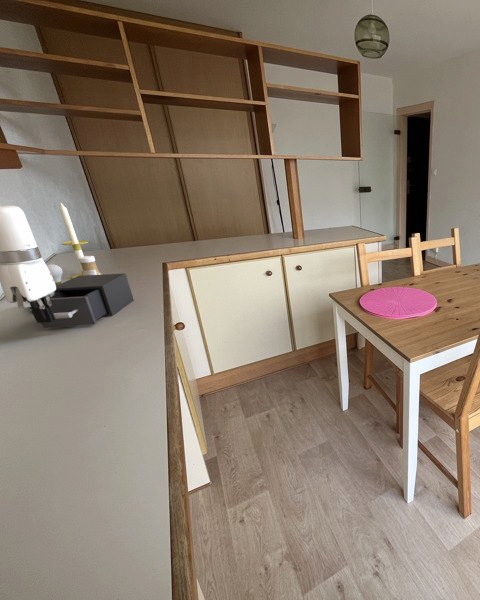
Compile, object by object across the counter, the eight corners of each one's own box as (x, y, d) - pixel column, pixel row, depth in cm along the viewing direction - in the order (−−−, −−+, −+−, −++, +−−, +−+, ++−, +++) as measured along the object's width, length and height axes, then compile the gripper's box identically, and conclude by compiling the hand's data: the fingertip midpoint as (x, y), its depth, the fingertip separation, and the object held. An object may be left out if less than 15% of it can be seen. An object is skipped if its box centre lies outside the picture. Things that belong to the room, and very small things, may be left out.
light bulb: (46, 291, 123) (36, 267, 119) (49, 287, 127) (39, 263, 124) (67, 288, 126) (58, 264, 123) (69, 285, 131) (60, 261, 127)
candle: (104, 275, 144) (80, 202, 133) (75, 280, 137) (46, 203, 125) (97, 271, 149) (73, 200, 138) (68, 276, 142) (40, 201, 130)
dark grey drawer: (86, 330, 92) (75, 302, 89) (32, 335, 88) (19, 306, 85) (118, 307, 108) (110, 283, 104) (73, 311, 104) (64, 286, 101)
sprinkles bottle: (107, 287, 129) (96, 255, 125) (100, 290, 125) (89, 258, 121) (93, 287, 128) (82, 255, 124) (86, 291, 124) (74, 258, 119)
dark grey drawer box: (112, 316, 103) (102, 285, 100) (61, 320, 100) (48, 288, 96) (133, 300, 116) (125, 273, 113) (89, 303, 113) (79, 275, 109)
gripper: (23, 250, 85) (49, 312, 92) (-29, 264, 72) (5, 335, 78) (58, 249, 87) (80, 309, 94) (13, 262, 74) (43, 331, 80)
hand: (46, 321), depth 86 cm, fingers closed
